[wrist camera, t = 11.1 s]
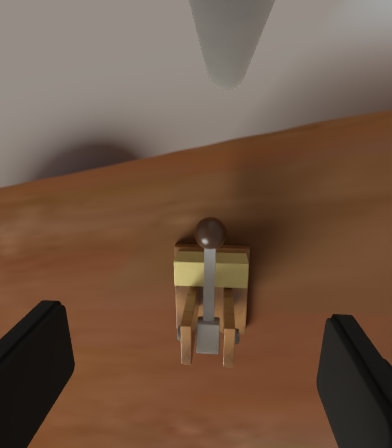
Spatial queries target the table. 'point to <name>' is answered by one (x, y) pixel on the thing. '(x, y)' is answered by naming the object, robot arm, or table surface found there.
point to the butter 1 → (189, 268)
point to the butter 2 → (231, 270)
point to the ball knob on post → (209, 284)
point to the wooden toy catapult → (224, 308)
